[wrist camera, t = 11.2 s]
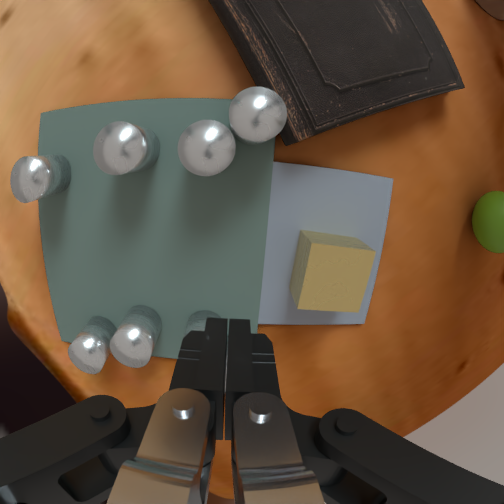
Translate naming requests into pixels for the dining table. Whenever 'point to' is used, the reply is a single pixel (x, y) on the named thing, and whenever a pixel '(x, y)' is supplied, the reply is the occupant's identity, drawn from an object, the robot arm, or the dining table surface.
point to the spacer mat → (153, 223)
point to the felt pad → (318, 220)
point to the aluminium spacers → (138, 159)
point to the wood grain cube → (330, 272)
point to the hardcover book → (339, 57)
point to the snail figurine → (490, 221)
